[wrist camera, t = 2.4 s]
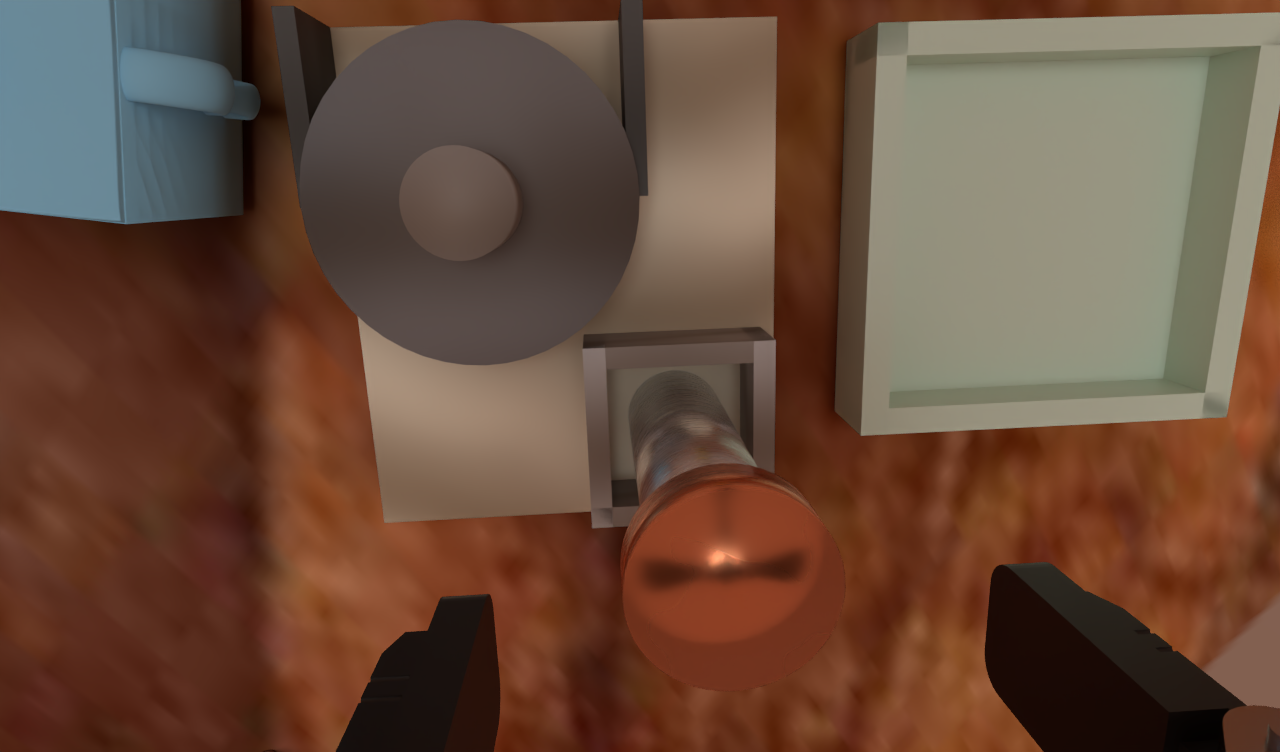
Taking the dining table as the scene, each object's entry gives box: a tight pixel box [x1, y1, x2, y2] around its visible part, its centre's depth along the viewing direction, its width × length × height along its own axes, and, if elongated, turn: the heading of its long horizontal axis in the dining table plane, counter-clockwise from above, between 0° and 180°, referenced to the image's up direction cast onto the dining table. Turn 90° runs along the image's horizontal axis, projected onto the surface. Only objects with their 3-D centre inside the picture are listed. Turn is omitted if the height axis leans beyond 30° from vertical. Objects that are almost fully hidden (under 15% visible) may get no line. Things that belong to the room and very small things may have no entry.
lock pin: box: [621, 370, 845, 691], centre depth 17 cm, size 4×4×10 cm
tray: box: [835, 13, 1280, 436], centre depth 22 cm, size 11×11×2 cm
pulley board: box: [271, 0, 777, 528], centre depth 20 cm, size 14×12×6 cm
